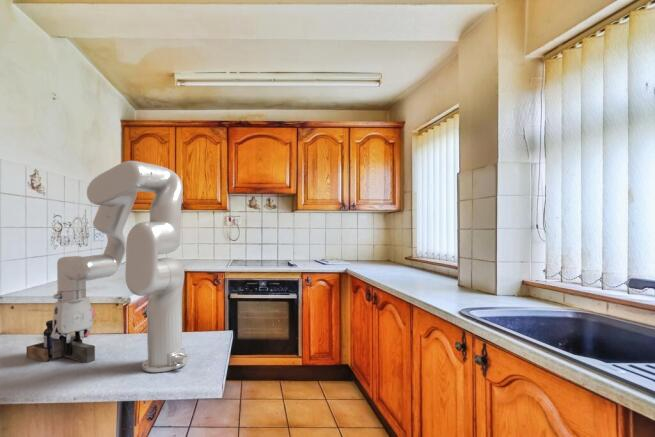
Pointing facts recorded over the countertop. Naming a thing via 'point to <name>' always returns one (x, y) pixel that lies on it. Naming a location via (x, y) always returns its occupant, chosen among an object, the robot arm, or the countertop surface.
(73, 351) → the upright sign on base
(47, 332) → the pill bottle
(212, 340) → the countertop surface
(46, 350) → the bay
